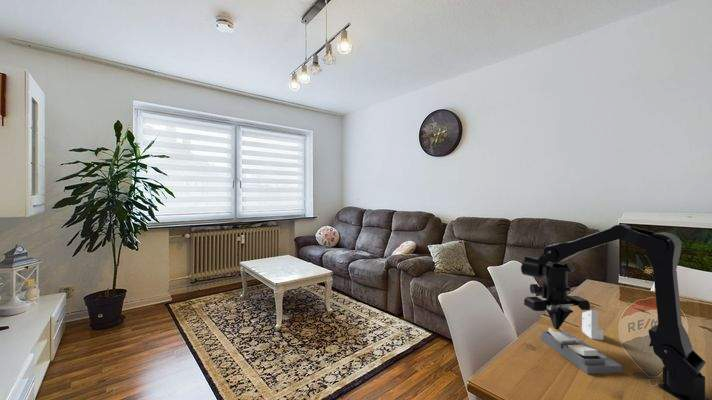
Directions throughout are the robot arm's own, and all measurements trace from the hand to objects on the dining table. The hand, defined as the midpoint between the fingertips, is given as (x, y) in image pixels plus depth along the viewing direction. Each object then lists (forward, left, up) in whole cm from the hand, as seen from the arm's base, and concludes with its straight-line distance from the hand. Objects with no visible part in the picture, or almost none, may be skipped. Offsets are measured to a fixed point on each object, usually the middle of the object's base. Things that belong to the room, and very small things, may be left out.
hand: (556, 328), depth 96 cm
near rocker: (-11, 0, -2) cm, 11 cm away
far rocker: (-2, 0, -2) cm, 3 cm away
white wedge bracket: (+5, -17, -5) cm, 19 cm away
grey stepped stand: (-6, -2, -5) cm, 8 cm away
